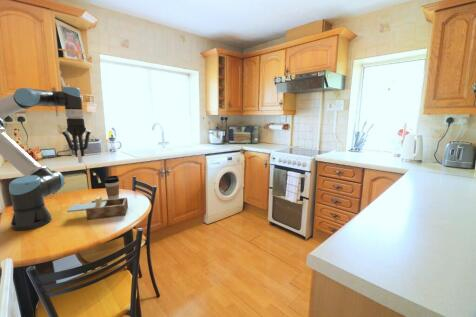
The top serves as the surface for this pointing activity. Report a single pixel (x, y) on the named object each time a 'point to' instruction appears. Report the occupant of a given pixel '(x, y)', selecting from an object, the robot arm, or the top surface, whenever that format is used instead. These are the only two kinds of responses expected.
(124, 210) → the box
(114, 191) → the coffee cup
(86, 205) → the lid
